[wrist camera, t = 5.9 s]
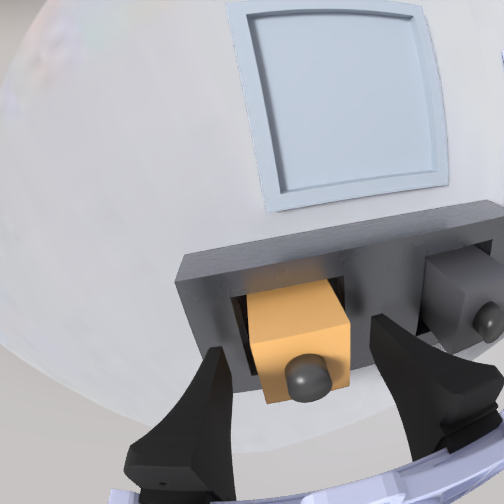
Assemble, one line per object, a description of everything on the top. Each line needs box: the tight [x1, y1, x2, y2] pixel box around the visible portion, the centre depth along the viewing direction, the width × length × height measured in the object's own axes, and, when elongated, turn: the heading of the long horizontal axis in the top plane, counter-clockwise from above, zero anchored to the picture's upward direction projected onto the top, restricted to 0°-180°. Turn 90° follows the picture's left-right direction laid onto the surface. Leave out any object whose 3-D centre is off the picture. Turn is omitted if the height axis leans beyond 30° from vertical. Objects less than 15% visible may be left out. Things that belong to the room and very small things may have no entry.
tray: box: [226, 0, 448, 213], centre depth 13 cm, size 11×11×1 cm
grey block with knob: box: [419, 244, 504, 355], centre depth 14 cm, size 4×4×7 cm
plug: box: [247, 279, 350, 404], centre depth 14 cm, size 4×4×7 cm
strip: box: [175, 200, 504, 393], centre depth 16 cm, size 20×8×3 cm, turn 101°
